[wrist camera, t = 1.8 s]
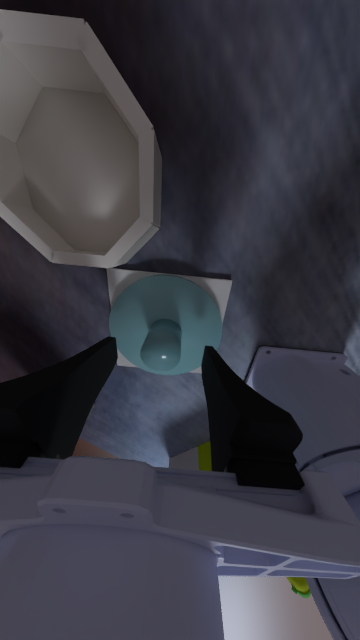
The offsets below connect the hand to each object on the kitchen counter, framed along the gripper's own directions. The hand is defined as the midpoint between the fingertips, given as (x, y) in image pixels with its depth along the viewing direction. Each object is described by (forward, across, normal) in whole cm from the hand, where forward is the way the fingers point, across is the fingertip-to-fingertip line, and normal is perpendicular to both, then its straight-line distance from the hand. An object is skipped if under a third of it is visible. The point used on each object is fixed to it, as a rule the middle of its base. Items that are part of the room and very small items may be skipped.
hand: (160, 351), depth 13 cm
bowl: (+4, +6, -11) cm, 13 cm away
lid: (+4, 0, 0) cm, 4 cm away
